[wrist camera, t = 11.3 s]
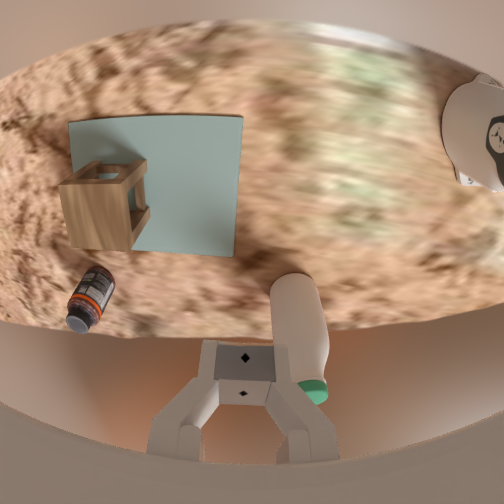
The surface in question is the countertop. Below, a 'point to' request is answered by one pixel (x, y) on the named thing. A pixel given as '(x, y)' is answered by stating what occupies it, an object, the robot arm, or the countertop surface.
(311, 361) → the milk bottle
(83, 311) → the supplement bottle
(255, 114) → the countertop surface
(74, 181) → the open wooden box
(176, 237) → the mat
